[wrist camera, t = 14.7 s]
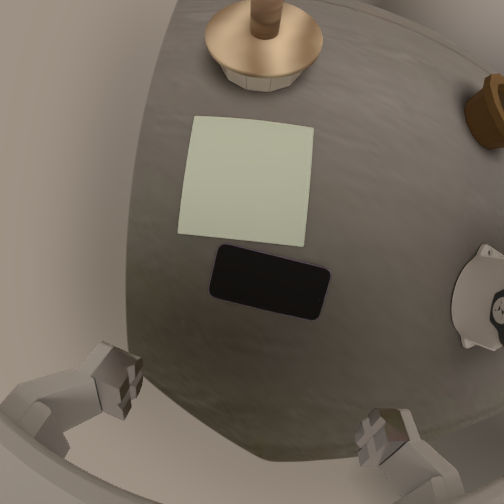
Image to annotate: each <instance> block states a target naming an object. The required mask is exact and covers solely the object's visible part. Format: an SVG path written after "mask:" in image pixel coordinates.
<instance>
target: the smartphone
mask: <svg viewBox="0 0 504 504" xmlns="http://www.w3.org/2000/svg"><path fill="white" fill-rule="evenodd" d="M330 280H331V272H330V271H329V270H328V269H327V268H325V267H321V266H317V265H314V264H311V263H310V264H309V263H306V262H302V261H297V260H294V259H290V258H285V257H281V256H277V255H273V254H269V253H265V252H261V251H257V250H253V249H249V248H244V247H240V246H236V245H232V244H228V243H224V244H221V245H220V246H219V247H218V249H217V252H216V256H215V260H214V264H213V269H212V273H211V277H210V282H209V286H208V292H209V294H210V296H211V297H213V298H216V299H220V300H223V301H227V302H231V303H235V304H239V305H243V306H247V307H251V308H256V309H260V310H264V311H268V312H273V313H277V314H281V315H286V316H290V317H295V318H299V319H304V320H309V321H314V320H317V319H318V318H319V317H320V315H321V312H322V308H323V305H324V301H325V298H326V294H327V291H328V287H329V283H330Z"/></svg>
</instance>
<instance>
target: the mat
mask: <svg viewBox="0 0 504 504" xmlns="http://www.w3.org/2000/svg"><path fill="white" fill-rule="evenodd" d="M313 130H314V128H310V127H304V126H298V125H291V124H284V123H277V122H269V121H260V120H251V119H239V118H226V117H208V116H195V117H194V122H193V128H192V133H191V139H190V145H189V151H188V157H187V163H186V170H185V177H184V184H183V191H182V199H181V207H180V215H179V224H178V233H179V234H189V235H199V236H208V237H218V238H227V239H237V240H246V241H255V242H264V243H274V244H282V245H291V246H300V247H304V239H305V229H306V220H307V210H308V199H309V187H310V175H311V162H312V147H313Z"/></svg>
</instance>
